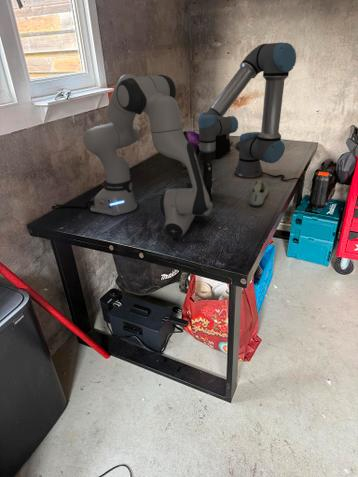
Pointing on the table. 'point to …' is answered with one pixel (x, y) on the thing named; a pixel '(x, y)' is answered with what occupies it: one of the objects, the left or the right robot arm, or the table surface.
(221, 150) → the handbag
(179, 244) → the table surface
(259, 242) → the table surface
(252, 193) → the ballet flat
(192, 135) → the decorative orb
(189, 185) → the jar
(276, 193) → the table surface
